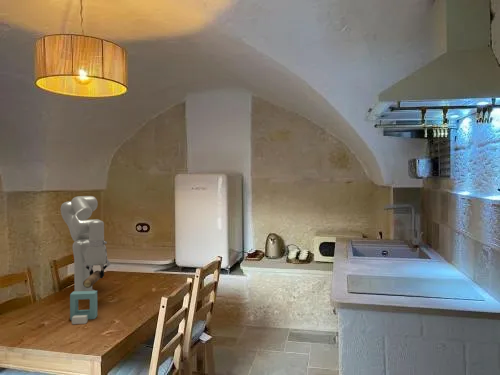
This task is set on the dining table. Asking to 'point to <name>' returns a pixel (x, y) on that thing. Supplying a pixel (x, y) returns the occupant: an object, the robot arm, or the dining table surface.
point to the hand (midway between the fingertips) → (96, 277)
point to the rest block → (79, 319)
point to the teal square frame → (83, 295)
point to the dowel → (91, 279)
